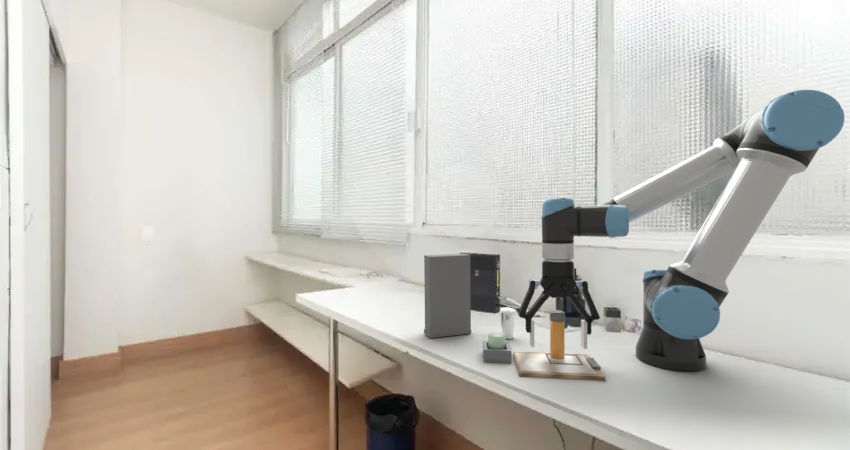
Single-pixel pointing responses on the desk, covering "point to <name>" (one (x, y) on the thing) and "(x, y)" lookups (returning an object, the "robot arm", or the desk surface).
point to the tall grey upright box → (447, 295)
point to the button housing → (496, 353)
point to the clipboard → (557, 366)
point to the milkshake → (507, 322)
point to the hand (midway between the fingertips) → (557, 346)
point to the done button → (496, 341)
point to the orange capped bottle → (557, 335)
